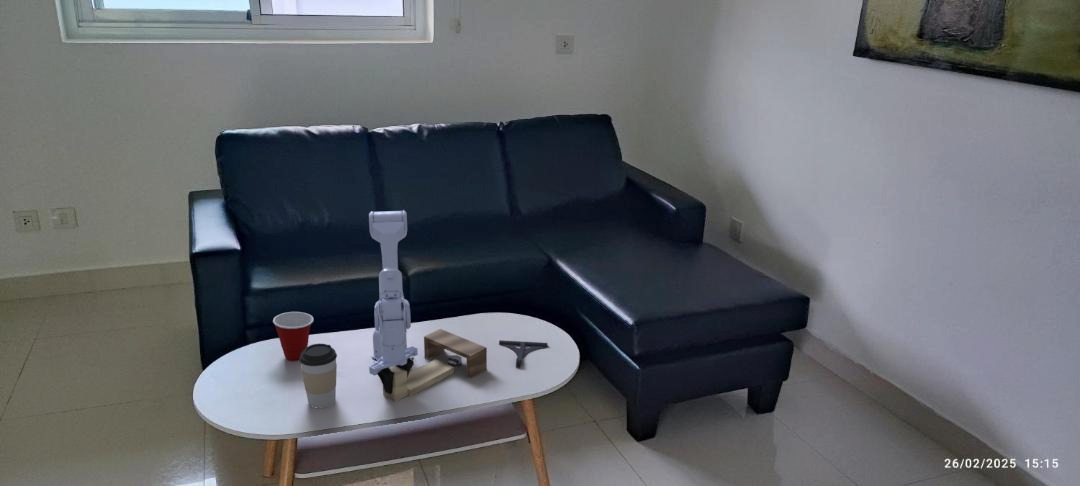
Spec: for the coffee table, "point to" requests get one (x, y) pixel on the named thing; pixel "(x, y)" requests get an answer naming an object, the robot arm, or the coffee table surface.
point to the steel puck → (454, 360)
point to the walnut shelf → (457, 350)
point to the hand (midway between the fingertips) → (395, 388)
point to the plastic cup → (293, 333)
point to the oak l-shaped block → (417, 378)
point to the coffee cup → (319, 374)
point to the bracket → (522, 348)
